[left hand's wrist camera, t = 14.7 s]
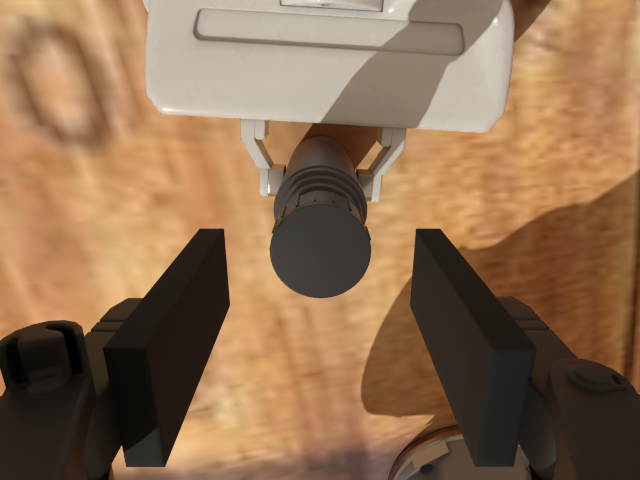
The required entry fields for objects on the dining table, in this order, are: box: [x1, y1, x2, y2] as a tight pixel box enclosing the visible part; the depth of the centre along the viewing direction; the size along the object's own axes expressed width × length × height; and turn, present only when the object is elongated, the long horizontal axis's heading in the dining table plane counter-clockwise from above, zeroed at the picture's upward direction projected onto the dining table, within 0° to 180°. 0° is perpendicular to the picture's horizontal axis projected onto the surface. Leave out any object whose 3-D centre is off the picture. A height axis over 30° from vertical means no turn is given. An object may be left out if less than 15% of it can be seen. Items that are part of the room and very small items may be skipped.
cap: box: [270, 190, 371, 298], centre depth 17 cm, size 4×4×2 cm
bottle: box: [274, 136, 367, 223], centre depth 25 cm, size 5×5×18 cm
